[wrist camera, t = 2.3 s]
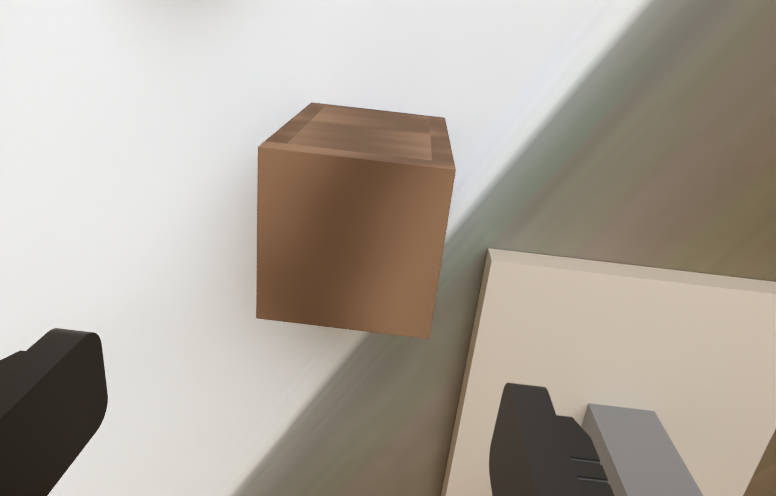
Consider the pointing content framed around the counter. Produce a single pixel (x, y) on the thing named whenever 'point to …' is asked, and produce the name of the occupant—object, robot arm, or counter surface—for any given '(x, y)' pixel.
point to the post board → (625, 370)
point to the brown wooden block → (353, 219)
